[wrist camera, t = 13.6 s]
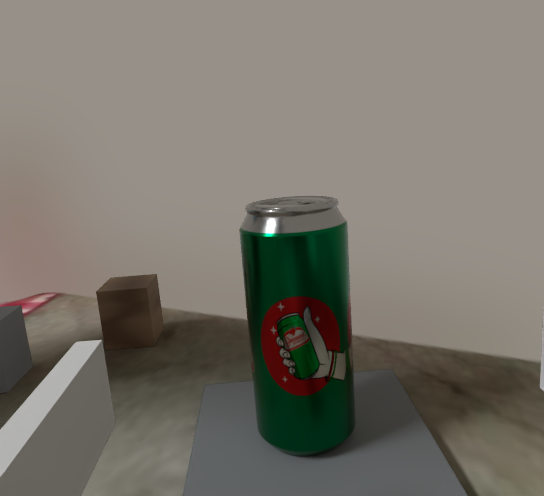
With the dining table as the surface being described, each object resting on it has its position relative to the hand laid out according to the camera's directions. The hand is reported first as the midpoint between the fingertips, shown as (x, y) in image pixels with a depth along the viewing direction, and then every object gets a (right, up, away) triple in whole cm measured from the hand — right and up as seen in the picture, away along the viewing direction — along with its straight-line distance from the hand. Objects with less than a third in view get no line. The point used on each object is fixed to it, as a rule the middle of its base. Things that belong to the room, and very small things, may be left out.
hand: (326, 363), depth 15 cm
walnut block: (-13, -4, +28) cm, 31 cm away
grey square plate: (0, -7, +11) cm, 13 cm away
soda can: (0, -6, +11) cm, 13 cm away
